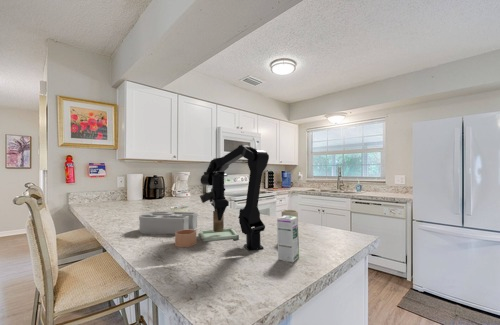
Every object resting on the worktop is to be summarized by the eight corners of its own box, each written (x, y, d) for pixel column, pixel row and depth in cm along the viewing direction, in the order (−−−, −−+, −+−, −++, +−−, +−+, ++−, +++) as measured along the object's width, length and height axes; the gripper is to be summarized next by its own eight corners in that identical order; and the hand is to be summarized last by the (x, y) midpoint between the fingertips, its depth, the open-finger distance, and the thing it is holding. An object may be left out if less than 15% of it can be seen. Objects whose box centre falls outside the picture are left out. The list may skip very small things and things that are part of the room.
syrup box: (293, 263, 76) (292, 219, 77) (277, 259, 79) (276, 217, 80) (299, 257, 81) (298, 216, 82) (283, 254, 84) (283, 214, 85)
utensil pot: (197, 247, 93) (197, 233, 93) (174, 249, 90) (174, 235, 90) (195, 241, 101) (195, 228, 102) (174, 243, 99) (174, 230, 99)
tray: (238, 239, 103) (238, 235, 103) (202, 243, 98) (202, 238, 98) (231, 231, 116) (231, 227, 116) (199, 234, 111) (199, 230, 111)
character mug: (297, 245, 94) (296, 213, 95) (280, 243, 96) (279, 212, 97) (299, 237, 105) (298, 209, 105) (283, 236, 107) (283, 208, 107)
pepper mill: (224, 231, 105) (224, 208, 106) (214, 232, 104) (214, 209, 104) (222, 228, 110) (222, 207, 110) (212, 229, 109) (212, 207, 109)
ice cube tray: (183, 236, 109) (183, 218, 109) (131, 234, 114) (131, 217, 115) (197, 228, 125) (197, 212, 126) (151, 226, 131) (151, 211, 131)
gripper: (199, 185, 114) (199, 216, 114) (203, 187, 97) (203, 225, 96) (221, 184, 118) (221, 215, 117) (228, 187, 100) (229, 223, 99)
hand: (218, 219), depth 107 cm, fingers closed on pepper mill, 5 cm apart
